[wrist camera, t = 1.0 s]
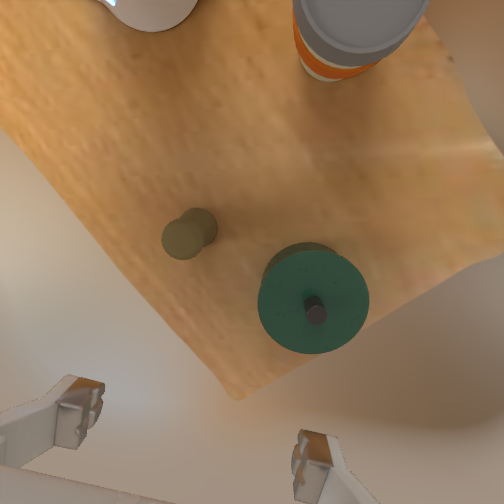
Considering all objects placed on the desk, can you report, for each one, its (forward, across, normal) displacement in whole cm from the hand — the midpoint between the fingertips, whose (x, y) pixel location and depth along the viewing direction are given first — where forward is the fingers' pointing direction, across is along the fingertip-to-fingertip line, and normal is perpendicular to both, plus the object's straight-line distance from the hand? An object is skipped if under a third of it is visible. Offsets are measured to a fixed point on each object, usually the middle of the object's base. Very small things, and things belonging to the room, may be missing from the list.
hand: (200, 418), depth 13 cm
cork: (+37, +8, -1) cm, 38 cm away
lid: (+30, -10, +4) cm, 32 cm away
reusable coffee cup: (+37, -5, -29) cm, 47 cm away
